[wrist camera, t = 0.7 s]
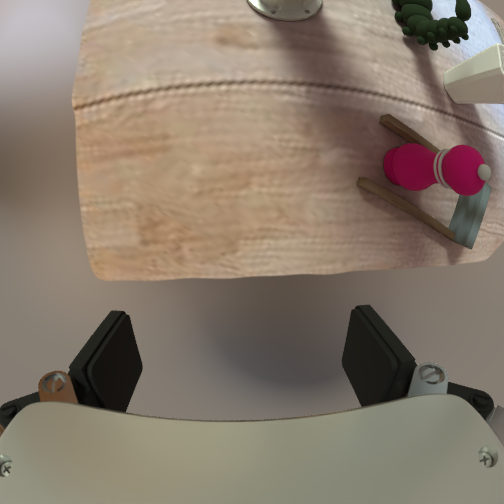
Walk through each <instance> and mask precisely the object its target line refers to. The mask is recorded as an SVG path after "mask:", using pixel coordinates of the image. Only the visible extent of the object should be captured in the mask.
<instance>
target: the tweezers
mask: <svg viewBox="0 0 504 504" xmlns="http://www.w3.org/2000/svg"><path fill="white" fill-rule="evenodd" d="M491 19H492V18H491ZM492 21H493V23H494V25H495V27H496V26H497V24H496V23H495V21H494V19H492ZM497 23H498V22H497ZM498 25H499V27H500V30H501V33H502V36H501V33H500V30H499V28H498V26H497V27H496V29H497V31H498V34H499V36H500V38H501V41H502V43H503V45H504V41H503V40H504V31H502V30H503V28H502V27H501V25H500V24H499V23H498ZM502 37H503V39H502Z"/></svg>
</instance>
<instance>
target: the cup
mask: <svg viewBox="0 0 504 504" xmlns="http://www.w3.org/2000/svg"><path fill="white" fill-rule="evenodd" d="M444 87H445V90H446V91H447V92H448V94H449V95H450V97H451V98H452V100H453V101H454V102H455V103H456V104H474V103H489V104H504V45H502V44H500V43H497V44H495V45H493V46H491V47H489V48H487V49H485V50H483V51H482V52H480V53H478V54H476V55H474V56H472V57H471V58H469V59H467V60H465V61H464V62H462V63H460V64H458V65H457V66H455V67H453V68H451V69H450V70H448V71H446V72H445V73H444Z"/></svg>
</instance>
